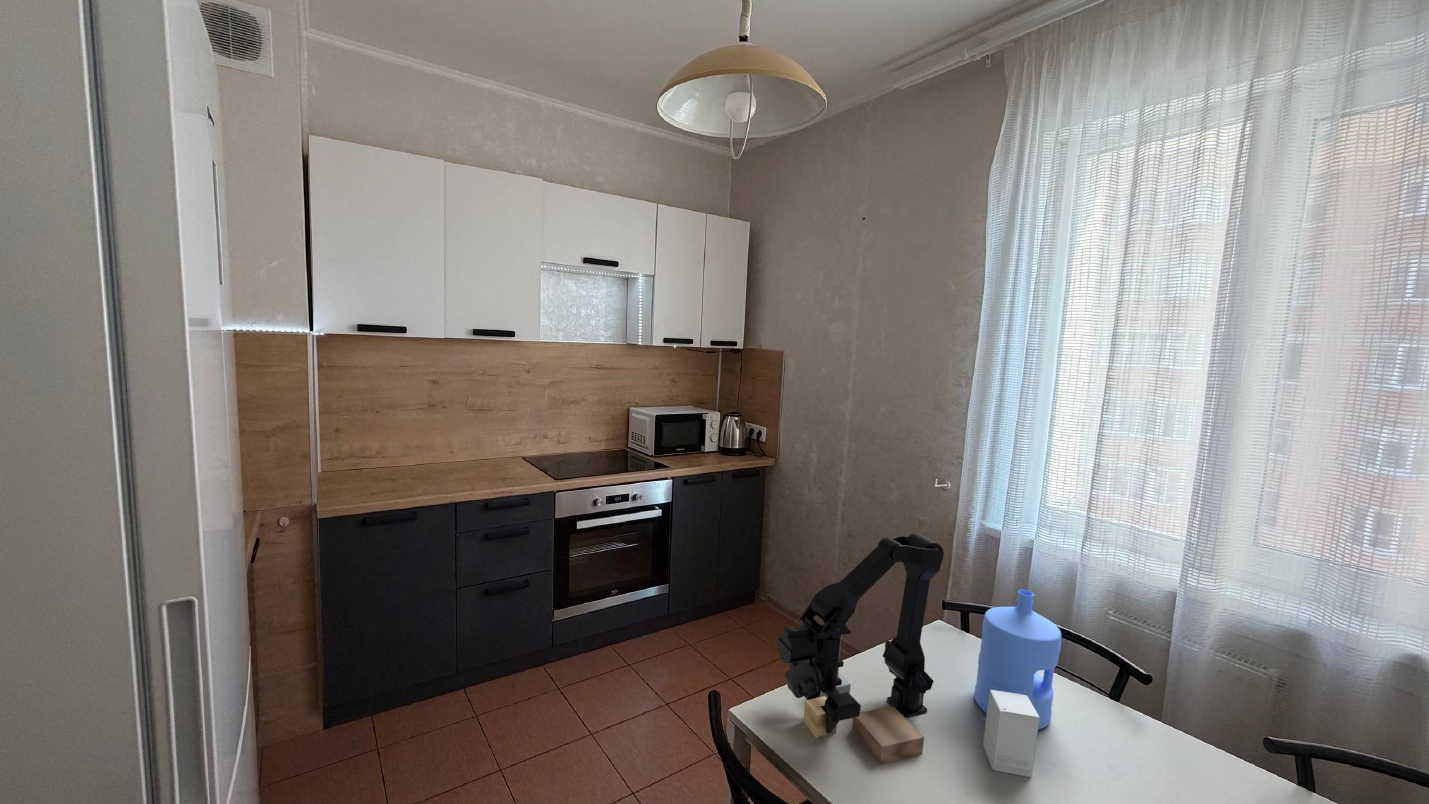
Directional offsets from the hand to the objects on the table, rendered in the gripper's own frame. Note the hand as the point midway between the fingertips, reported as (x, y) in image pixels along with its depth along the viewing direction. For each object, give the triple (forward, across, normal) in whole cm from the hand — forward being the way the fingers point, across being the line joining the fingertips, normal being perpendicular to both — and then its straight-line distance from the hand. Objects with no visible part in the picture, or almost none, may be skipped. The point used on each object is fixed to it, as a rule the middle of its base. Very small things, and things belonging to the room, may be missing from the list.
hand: (820, 722), depth 121 cm
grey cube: (+1, -7, +8) cm, 11 cm away
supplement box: (+1, +20, +31) cm, 37 cm away
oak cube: (+1, 0, 0) cm, 1 cm away
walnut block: (+1, +8, +11) cm, 14 cm away
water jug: (+1, +8, +46) cm, 47 cm away
